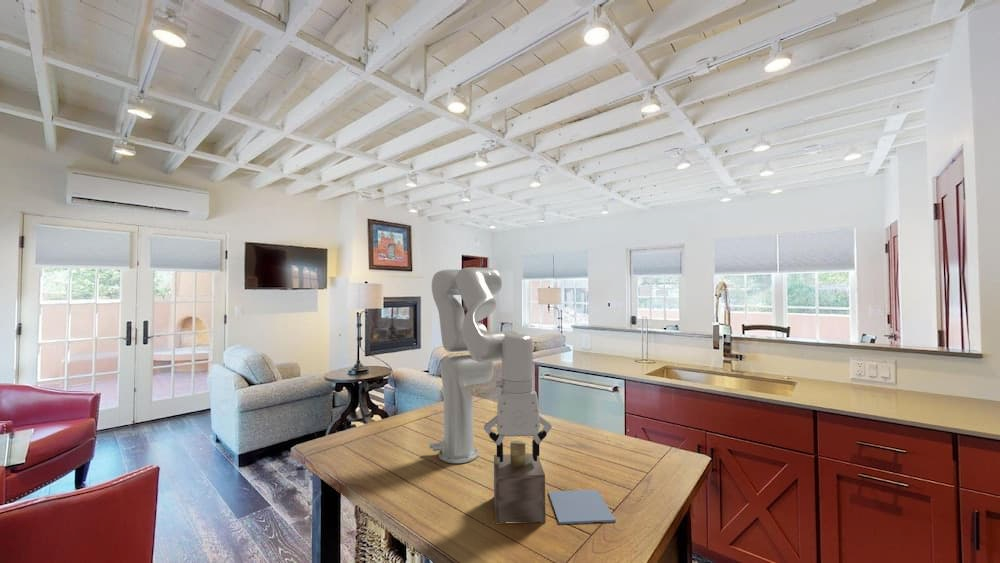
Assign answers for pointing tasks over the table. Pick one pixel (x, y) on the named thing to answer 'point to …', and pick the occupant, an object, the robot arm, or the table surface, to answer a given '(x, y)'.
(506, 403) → the robot arm
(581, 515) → the mat
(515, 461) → the cover
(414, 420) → the table surface
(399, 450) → the table surface
